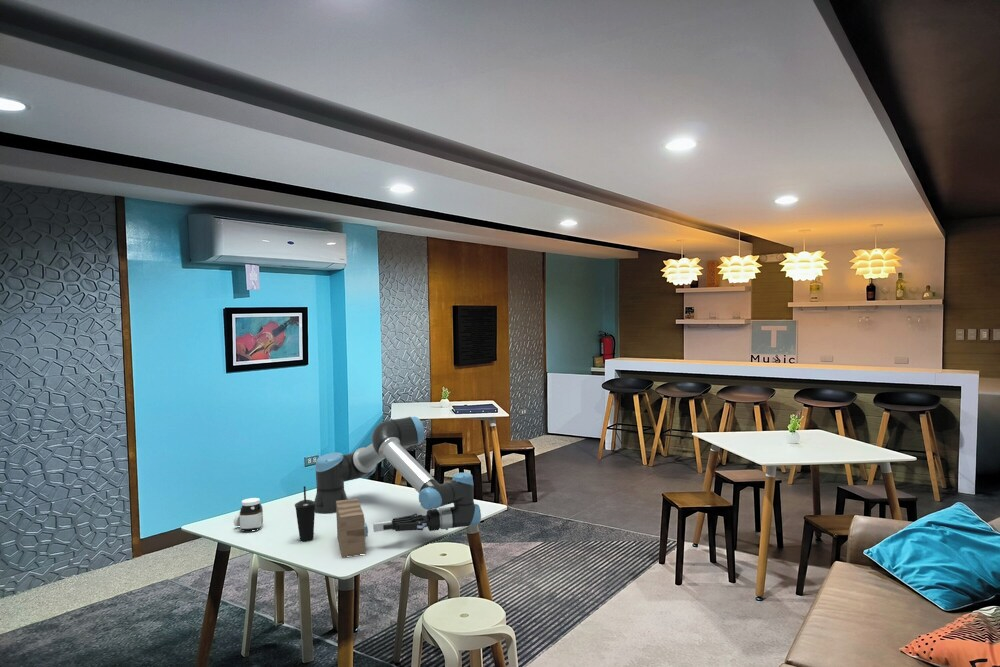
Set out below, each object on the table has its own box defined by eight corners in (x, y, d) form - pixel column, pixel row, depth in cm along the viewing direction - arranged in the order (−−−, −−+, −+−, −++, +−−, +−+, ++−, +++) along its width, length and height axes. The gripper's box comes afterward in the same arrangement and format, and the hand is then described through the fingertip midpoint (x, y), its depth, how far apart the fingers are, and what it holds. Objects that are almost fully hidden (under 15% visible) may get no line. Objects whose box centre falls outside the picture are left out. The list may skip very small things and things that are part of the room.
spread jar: (257, 532, 250) (256, 503, 250) (228, 534, 249) (227, 504, 249) (267, 523, 262) (265, 495, 262) (238, 524, 261) (237, 496, 261)
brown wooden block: (337, 538, 240) (335, 501, 240) (359, 535, 242) (357, 498, 242) (341, 557, 219) (339, 517, 219) (365, 554, 221) (363, 514, 221)
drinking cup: (297, 544, 234) (294, 490, 234) (294, 538, 241) (292, 485, 241) (318, 541, 237) (316, 487, 237) (315, 535, 244) (313, 483, 244)
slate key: (349, 534, 227) (348, 524, 227) (367, 531, 229) (366, 522, 229) (350, 538, 223) (349, 528, 223) (368, 536, 225) (368, 526, 225)
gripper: (442, 534, 228) (376, 543, 221) (435, 524, 241) (372, 532, 233) (442, 513, 228) (375, 522, 221) (434, 504, 240) (371, 512, 233)
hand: (373, 527), depth 227 cm, fingers closed
